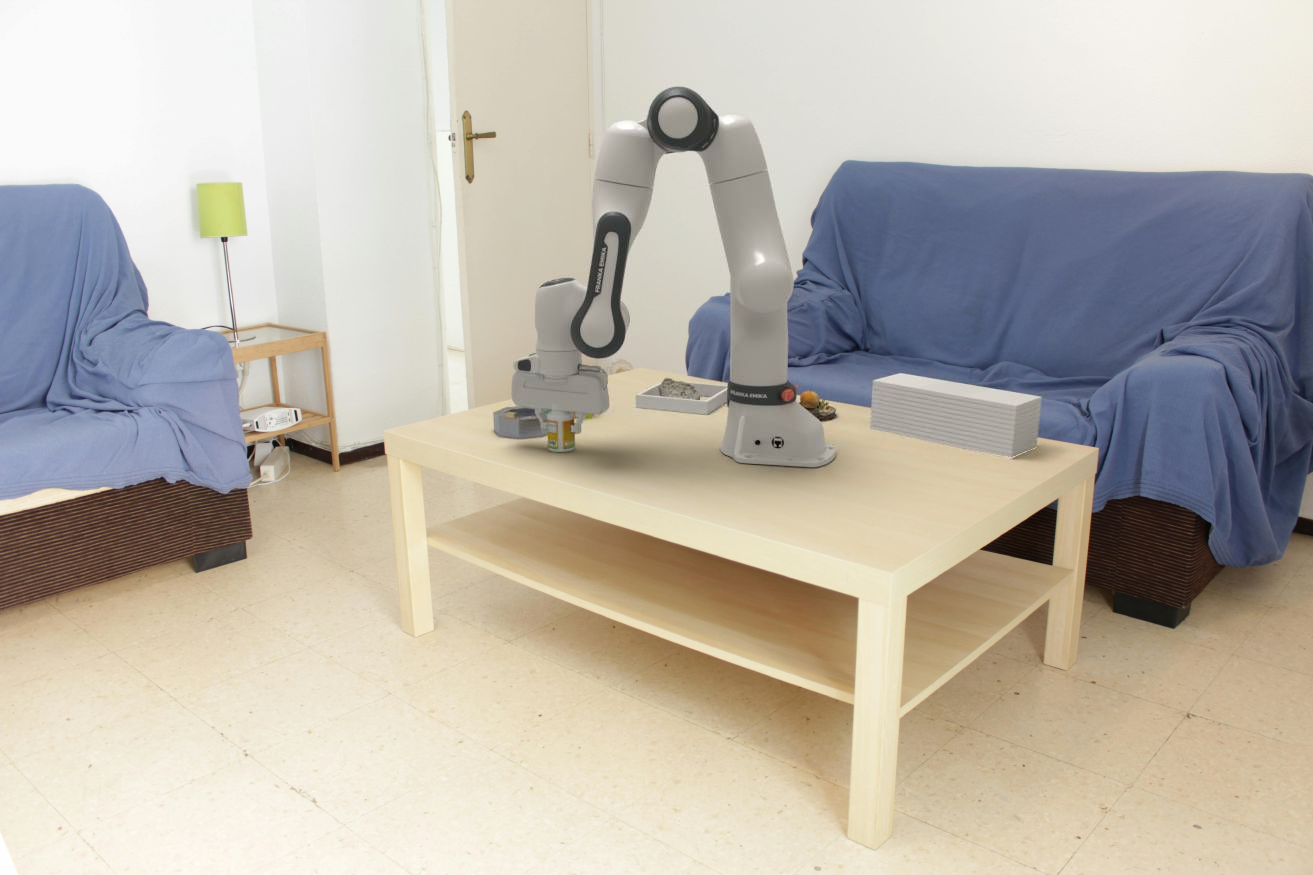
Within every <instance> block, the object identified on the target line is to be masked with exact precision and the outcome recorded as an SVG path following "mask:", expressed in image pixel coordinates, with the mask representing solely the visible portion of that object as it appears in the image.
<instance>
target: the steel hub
mask: <svg viewBox="0 0 1313 875" xmlns="http://www.w3.org/2000/svg"><path fill="white" fill-rule="evenodd" d="M550 411H551V410H549V409H546V411H545V412H544V413H545V415H546V417H547V414H548V413H549V412H550ZM492 414H493V416H492V417H493V430H494V431H493V432H495V433H496V434H497V436H498V437H501V438H502V437H503V438H510V439H518V440H521V439H532V438H541V437H542V438H543V437H544V436H546V435H548V434H547V430H541V424H540V421H539V419H538V417H537V416H536V414H535V408H533V407H524V406H516V405H515V406H506V407H503V408H500V409H497V410H496V411H493V413H492Z"/></svg>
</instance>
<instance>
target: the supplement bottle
mask: <svg viewBox="0 0 1313 875" xmlns="http://www.w3.org/2000/svg"><path fill="white" fill-rule="evenodd" d="M574 423H575V418H574V414H573V412H570V411H562V410H560V407H559V404H556V403H552V409H551V411H550V412H549V413H548V414H547V434H546V435H547V449H548V450H549V451H551V452H553V453H566V452H571V451H573V450H574V449H575V448H576V437H575V436H576V434H573V433H571V425H572V424H574Z"/></svg>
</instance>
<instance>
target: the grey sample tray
mask: <svg viewBox="0 0 1313 875" xmlns="http://www.w3.org/2000/svg"><path fill="white" fill-rule="evenodd" d="M681 381H682V382H684V381H683V380H681ZM662 382H663V380H662V381H660V382H658V383H656V384H654V385H653V386H651V387H648V388H647V389H644V390H642V391H641V392H639V393H637V394H635V408H638V409H646V410H647V409H648V410H657V411H668V412H676V413H687V414H695V415H705V416H707V415H709V414H711V413H712V412H713V411H715V410H717V409H719V408H720V407H721V406H724V405H725V404H727V386H728V385H725V384H715V383H714V384H712V383H703V382H693V381H685V382H686V383H689V384H691V385H693V386H694V388H695V390H696V391H698V392H699V394H700V397H706V398H707V397H708V399H705V400H702V399H700V400H692V399H682V398H672V397H661V396H660V395H659V390H658V388H659V387H660V386H659V385H660V384H661V383H662Z"/></svg>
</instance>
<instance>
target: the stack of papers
mask: <svg viewBox="0 0 1313 875" xmlns="http://www.w3.org/2000/svg"><path fill="white" fill-rule="evenodd" d="M871 388H872V390H871V393H872V394H871V408H870V411H871V412H870V421H869V422H870V424H869V429H871V430H876V431H880V432H884V433H890V434H893V435H899V436H902V437H903V436H904V437H908V438H911V439H912V438H913V439H915V440H922V441H927V442H929V443H930V442H931V443H936V444H940V445H945V446H948V447H953V448H959V449H962V448H963V450H967V449H968V451H971V450H973V452H976V451H979V452H978V453H981V452H985V453H990V454H996V455H1001V456H1008V457H1013V456H1016V455H1018V454H1021V453H1023V452H1025V451H1028V450H1031V449H1033V448H1035V447H1037V448H1038V438H1039V436H1038V435H1039V430H1040V428H1039V427H1040V426H1039V425H1040V420H1041V419H1040V418H1041V417H1040V416H1041V410H1042V409H1041V408H1042V407H1041V406H1042V401H1043V396H1038V395H1033V394H1028V393H1027V394H1026V393H1021V392H1014V391H1009V390H1003V389H998V388H997V389H996V388H991V387H985V386H981V385H980V386H979V385H974V384H968V383H967V384H966V383H961V382H956V381H950V380H943V379H938V378H933V377H932V378H931V377H927V376H919V375H916V374H915V375H913V374H908V373H902V372H900V373H895V374H892V375H888V376H885V377H880V378H877V379H872V387H871ZM1031 451H1032V450H1031ZM985 453H984V454H985ZM990 454H989V455H990Z"/></svg>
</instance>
